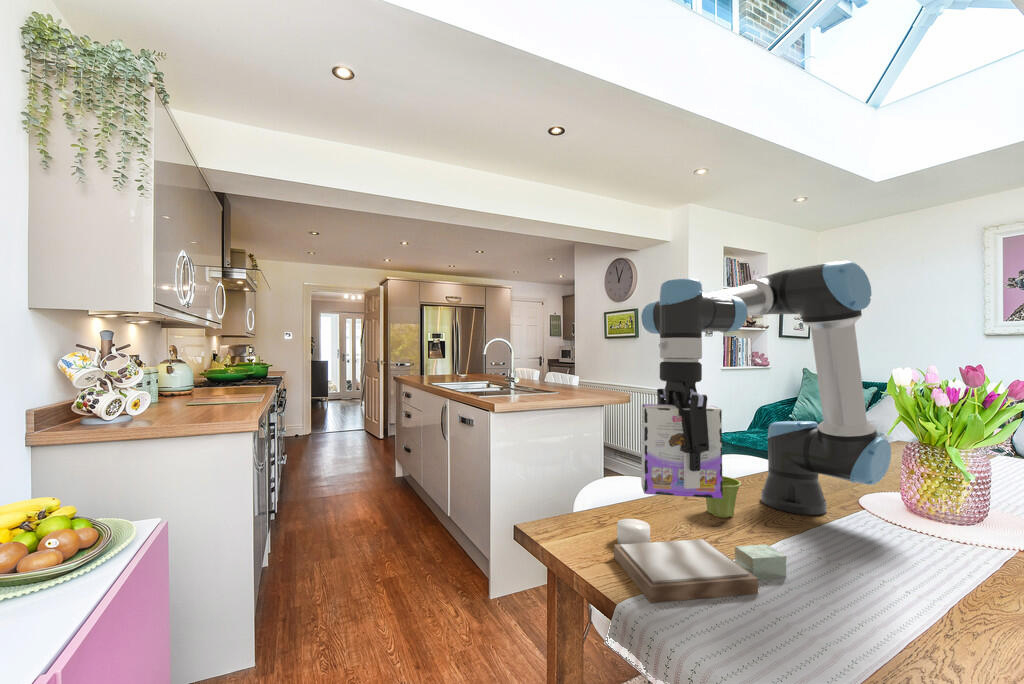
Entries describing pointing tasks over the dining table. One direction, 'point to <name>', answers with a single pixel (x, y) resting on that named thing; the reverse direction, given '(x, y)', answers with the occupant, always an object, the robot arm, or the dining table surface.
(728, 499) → the plant pot
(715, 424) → the candy box
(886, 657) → the dining table surface
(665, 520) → the dining table surface
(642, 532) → the white rounded dome
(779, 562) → the pale green block
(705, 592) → the picture frame
